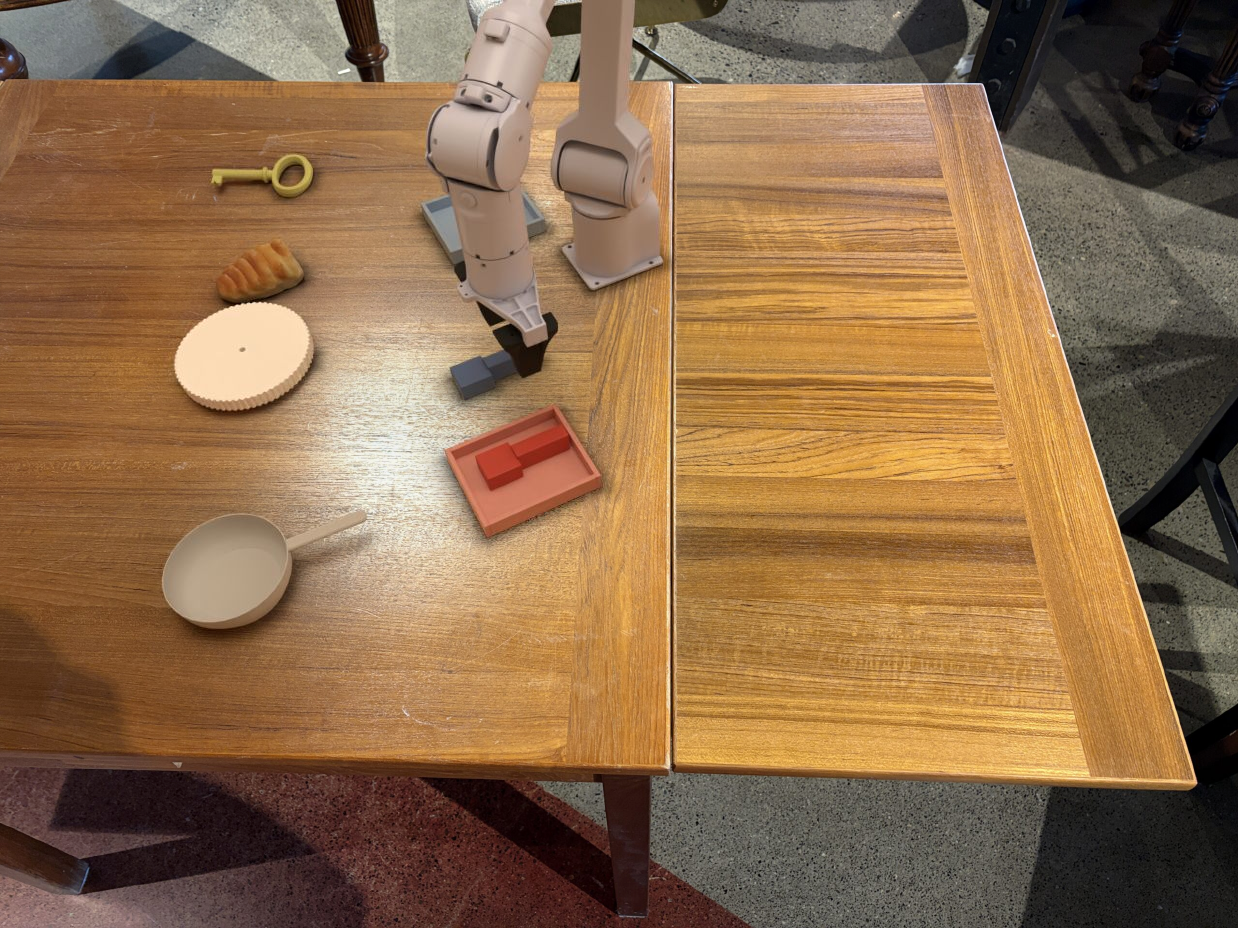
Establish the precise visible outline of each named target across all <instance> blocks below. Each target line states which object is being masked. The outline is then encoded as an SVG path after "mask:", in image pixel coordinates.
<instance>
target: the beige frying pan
mask: <svg viewBox="0 0 1238 928" xmlns="http://www.w3.org/2000/svg"><path fill="white" fill-rule="evenodd" d="M367 519H368V514H367V512H366V510H364V509H359V510H356V511H354V512H351V513H348V514H347V515H344V516H341V517H339V518H336V519H334V520H331V521H329V522H326V523H324V524H321V525H319V526H316V527H314V528H311V529H309V530H306V531H303V532H301V533H298V534H296V535H294V536H291V537H288V538H286V537H285V534H283V532H282V530H281V529H280V528H279V527H278V526H277V525H276V524H275V523H274V522H272V521H270V520H269V519H267V518H266V517H263V516H260V515H257V514H251V513H229V514H225V515H221V516H217V517H214V518H212V519H210V520H207V521H205V522H202V523H201V524H200V525H198V526H196V527H195V528H193V529H192V530H191V531H190V532H188V533H187V534H185V536H183V538H181V539H180V541H179V542H178V543H176V545H175V546H174V548H173V549H172V550H171V552H170V554H169V556H168V558H167V559H166V562H165V565H164V567H163V572H162V575H161V576H162V577H161V588H162V592H163V596H164V598H165V600H166V602H167V604H168V606H170V608H172V609H173V611H174V612H175V613H177V614H178V615H179V616H180V617H181V618H184V619H185V620H186V621H188V622H190V623H191V624H193V625H195V626H198V627H200V628H207V629H210V630H211V629H213V630H215V629H216V630H217V629H219V630H220V629H221V630H225V629H227V630H228V629H233V628H238V627H243V626H247V625H249V624H252V623H254V622H256V621H258V620H260V619H261V618H263V617H264V616H266V615H267V614H268V613H269V612H270V611H272V610H273V609H274V607H275V606H276V605H277V604H278V603H279V601H280V600H281V599H282V597H283V595H284V593H285V591H286V590H287V587H288V585H289V582H290V578H291V575H292V571H293V557H292V553H291V552H293V551H295V550H298V549H300V548H303V547H306V546H308V545H310V544H313V543H315V542H318V541H321V540H322V539H323V540H324V539H325V538H328V537H330V536H333V535H335V534H338V533H341V532H343V531H345V530H348V529H350V528H353V527H356V526H358V525H361V524H363V523H365V522H366V521H367Z"/></svg>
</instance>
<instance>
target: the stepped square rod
mask: <svg viewBox="0 0 1238 928" xmlns="http://www.w3.org/2000/svg"><path fill="white" fill-rule="evenodd" d="M449 371H450V374H451V378H452V381H453V383H454V385H455V387H456V388H457V390H458V392H459V394H460V396H461V397H462V399H463V400H464V401H466V400H468V399H471V398H473V397H475V396H477V395H480V394H483V393H486V392H488V391H490V390H493V389H495V388H496V387H495V382H497V381H500V380H502V379H504V378H507V377H509V376H511V375H514V374H517V373H518V372H517V370H516V368H515V366H514V364H513V361H512V359H511V356H510V354H509V353H507V352H506V351H505V350H504V349H502V350H499V351H496V352H494V353H491V354H489V355H485V356H484V357H482V355H477V356H475V357H472V358H470V359H467V360H465V361H463V362H459V363H457V364H455V365H452V366H449Z"/></svg>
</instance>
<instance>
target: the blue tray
mask: <svg viewBox="0 0 1238 928" xmlns="http://www.w3.org/2000/svg"><path fill="white" fill-rule="evenodd" d="M523 188H524V187H522V186H521V189H522V197H523V204H524V211H525V218H526V226H527V233H528V239H529V238H532V237H534V236H537V235H540V234H543V233H545V232H547V225H546V218H545V217H544V216H543V215H542V213H541V211H540V210H539V209H538V207H537V206H536V205H535V203H534V202H533V200H532V199H531V198H530V196H529V195H528V194H527V193H526V191H525V190H524V189H523ZM419 205H420V207H421V211H422V215H423V217H424V219H425V221H426V223H427V224H428V226H429V227H430V229H431V230H432V232H433V234H434V235H435V237H436V239H437V240H438V242H439V244H440V245H441V247H442V249H443V250H444V251H445V253H446V255H447V256H448V258H449V259H450V262H451V263H452V265H456V264H457V263H459V262H461V261H464V255H463V251H462V246H461V242H460V237H459V233H458V228H457V223H456V219H455V214H454V210H453V205H452V200H451V196H449V195H448V194H447V193H446V194H444V195H441V196H438V197H435V198H432V199H429V200H426V201H423V202H420V204H419Z"/></svg>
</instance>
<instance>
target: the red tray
mask: <svg viewBox="0 0 1238 928" xmlns="http://www.w3.org/2000/svg"><path fill="white" fill-rule="evenodd" d="M560 424H562V425H563V427H564V429H565V430H566V432H567V433H568V436H569V445H570V449H569V450H567V451H564V452H562V453H560V454H558V455H555V456H553V457H551V458H548V459H546V460H544V461H541V462H539V463H537V464H535V465H532V466H530V467H528V468H525V469H523V470H522V471H523V476H524V477H522V478H520V479H517V480H515V481H513V482H511V483H508V484H506V485H504V486H501V487H499V488H497V489H494V490H492V491H490V489H489V487H488V485H487V483H486V482H485V480H484V478H483V476H482V474H481V472H480V470H479V469H478V466H477V462H476V458H475V456H476V455H478V454H480V453H483V452H485V451H487V450H490V449H492V448H495V447H497V446H499V445H502V444H504V443H506V442H509V444H510V446H511V445H513V444H515V443H517V442H520V441H522V440H524V439H527V438H529V437H531V436H534V435H536V434H539V433H541V432H543V431H546V430H548V429H550V428H553V427H555V426H557V425H560ZM444 453H445V456H446V460H447V462H448V464H449V466H450V469H451V470H452V473H453V474H454V476H455V478H456V480H457V482H458V484H459V486H460V488H461V490H462V491H463V494H464V496H465V498H466V500H467V501H468V503H469V505H470V507H471V509H472V511H473V513H474V516H475V517H476V519H477V522H478V523H479V525H480V527H481V529H482V530H483V532H484V534H485V537H486V538H487V539H488V538H491V537H492V536H494V535H497V534H499V533H502V532H503V531H506V530H508V529H511V528H512V527H514V526H517V525H519V524H522V523H523V522H525V521H528V520H530V519H532V518H534V517H536V516H539V515H542V514H543V513H546V512H548V511H550V510H553V509H555V508H557V507H559V506H561V505H564V504H566V503H568V502H570V501H573V500H575V499H578V498H579V497H581V496H584V495H585V494H588V493H590V492H592V491H595V490H597V489H599V488H601V487H603V486H602V475H601V473H600V471H599V470H598V468H597V467H596V465H595V464H594V461H593V460H592V459H591V457H590V456H589V454H588V452H587V451H586V449H585V448H584V446H583V444H582V443H581V441H580V439H579V438H578V437H577V435H576V433H575V432H574V430H573V428H572V427H571V425H570V424H569V422H568V421H567V419H566V418H565V416H564V415H563V413H562V411H561V410H560V408H559V406H558V404H557V403H553V404H551V405H549V406H546V407H544V408H542V409H539V410H537V411H534V412H532V413H530V414H527V415H525V416H523V417H520V418H517V419H514V420H513V421H510V422H508V423H506V424H503V425H501V426H499V427H496V428H493V429H492V430H489V431H487V432H484V433H481V434H480V435H476V436H474V437H471V438H470V439H467V440H464V441H462V442H459V443H458V444H455V445H453V446H451V447H447V448H445V449H444Z"/></svg>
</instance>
